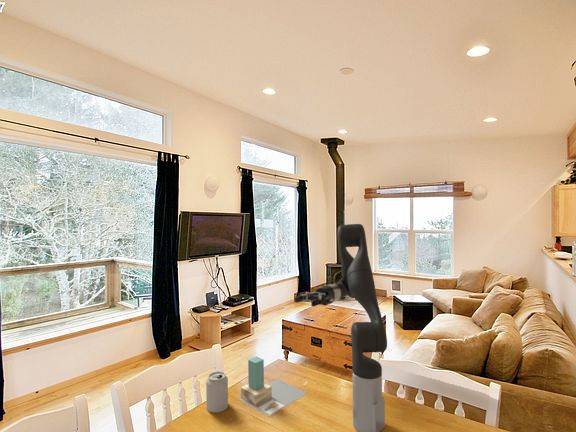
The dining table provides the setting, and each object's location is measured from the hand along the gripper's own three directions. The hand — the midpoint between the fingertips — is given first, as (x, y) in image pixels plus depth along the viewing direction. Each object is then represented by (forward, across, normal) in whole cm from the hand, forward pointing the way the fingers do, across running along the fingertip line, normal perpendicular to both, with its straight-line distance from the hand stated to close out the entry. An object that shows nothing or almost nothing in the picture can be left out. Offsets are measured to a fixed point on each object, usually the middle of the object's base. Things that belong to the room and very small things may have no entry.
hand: (303, 301), depth 131 cm
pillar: (+18, -8, +29) cm, 35 cm away
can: (+31, -14, +34) cm, 48 cm away
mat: (+13, -4, +34) cm, 37 cm away
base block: (+18, -8, +33) cm, 39 cm away
